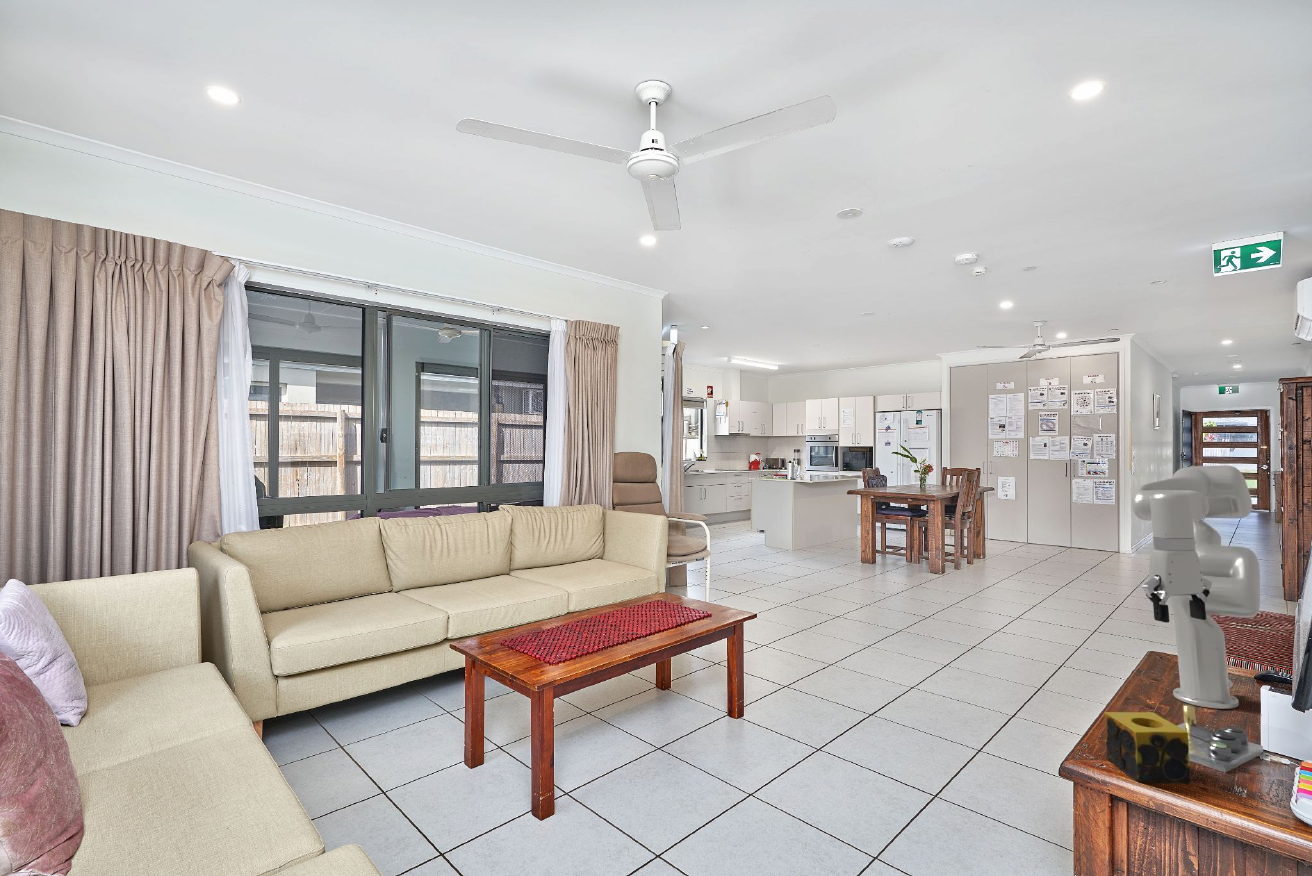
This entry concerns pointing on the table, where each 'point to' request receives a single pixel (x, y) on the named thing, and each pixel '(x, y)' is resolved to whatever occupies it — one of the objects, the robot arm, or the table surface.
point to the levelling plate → (1215, 764)
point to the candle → (1147, 747)
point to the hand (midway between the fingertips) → (1180, 620)
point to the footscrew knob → (1209, 731)
